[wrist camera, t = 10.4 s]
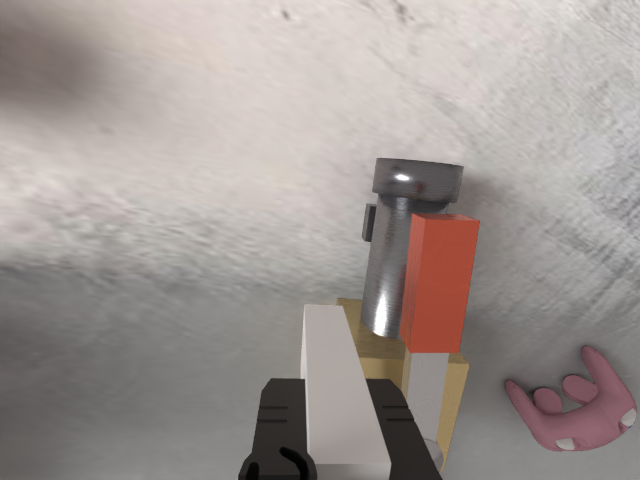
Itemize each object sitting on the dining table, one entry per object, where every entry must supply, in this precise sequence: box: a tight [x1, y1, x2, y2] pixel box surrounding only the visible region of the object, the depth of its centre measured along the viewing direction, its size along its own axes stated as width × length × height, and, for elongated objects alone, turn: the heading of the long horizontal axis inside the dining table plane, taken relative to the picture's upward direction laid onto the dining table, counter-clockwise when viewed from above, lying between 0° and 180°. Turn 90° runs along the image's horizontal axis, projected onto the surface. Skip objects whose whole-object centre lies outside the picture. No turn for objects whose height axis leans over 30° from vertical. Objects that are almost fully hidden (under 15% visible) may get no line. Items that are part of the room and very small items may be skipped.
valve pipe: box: [336, 158, 470, 471], centre depth 25 cm, size 8×34×11 cm, turn 174°
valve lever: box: [400, 213, 480, 472], centre depth 17 cm, size 16×3×2 cm, turn 178°
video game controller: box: [505, 346, 637, 451], centre depth 30 cm, size 10×5×7 cm, turn 116°
